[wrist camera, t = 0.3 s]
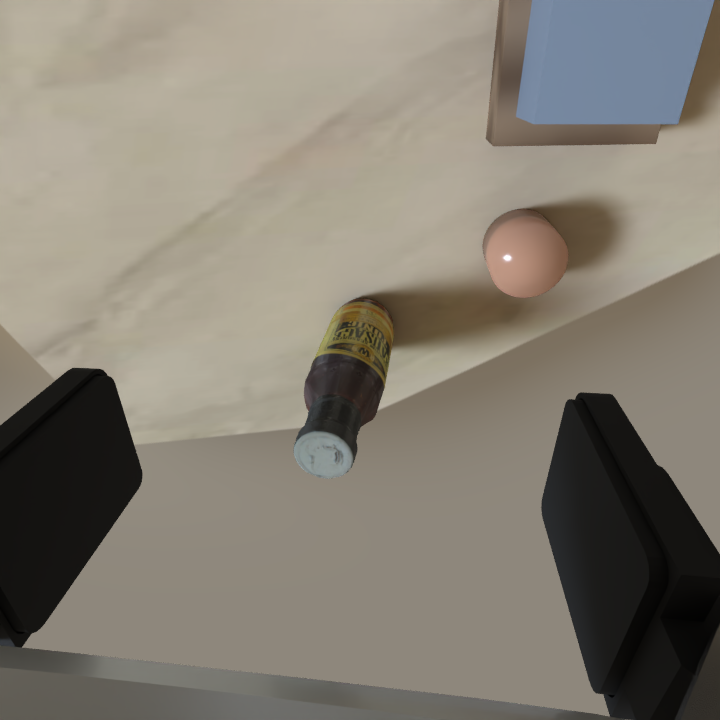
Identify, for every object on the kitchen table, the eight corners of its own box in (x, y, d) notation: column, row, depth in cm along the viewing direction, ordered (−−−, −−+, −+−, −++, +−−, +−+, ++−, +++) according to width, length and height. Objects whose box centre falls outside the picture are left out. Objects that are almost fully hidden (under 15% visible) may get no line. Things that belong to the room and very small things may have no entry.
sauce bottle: (406, 313, 47) (399, 450, 30) (375, 360, 50) (352, 508, 33) (347, 281, 46) (305, 404, 29) (319, 331, 49) (266, 468, 32)
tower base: (502, -37, 33) (514, -54, 29) (671, -46, 32) (710, -64, 28) (485, 138, 39) (493, 146, 34) (628, 135, 38) (655, 143, 33)
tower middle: (536, -31, 29) (561, -53, 24) (675, -35, 29) (731, -59, 23) (515, 116, 33) (533, 124, 28) (636, 116, 33) (677, 124, 27)
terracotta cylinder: (486, 209, 41) (493, 224, 37) (558, 208, 41) (575, 224, 36) (479, 275, 44) (485, 297, 40) (546, 276, 44) (560, 298, 39)
